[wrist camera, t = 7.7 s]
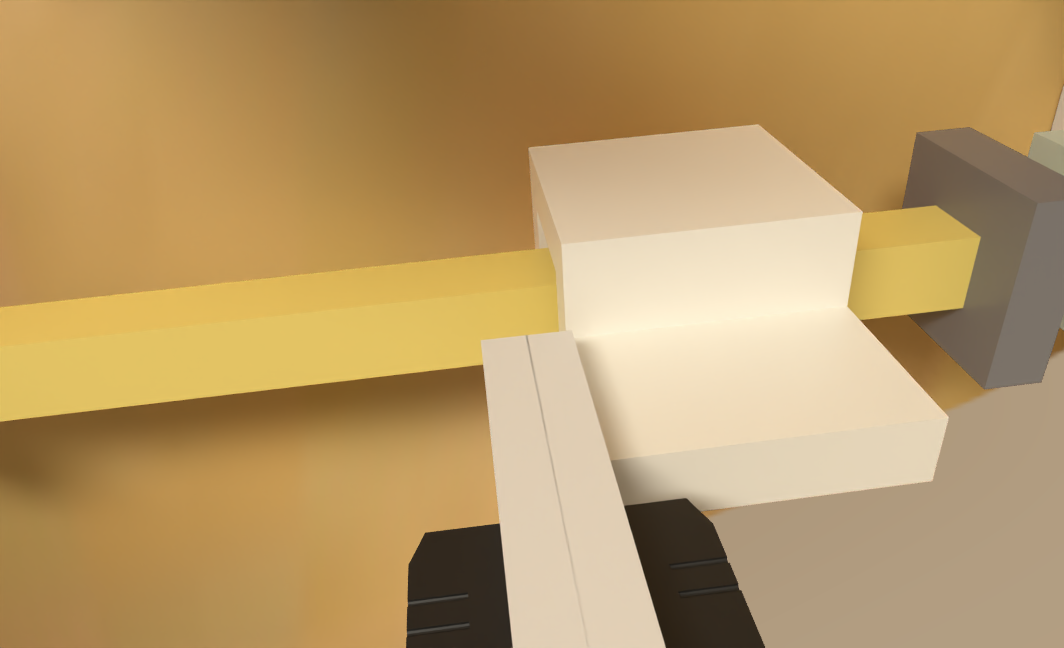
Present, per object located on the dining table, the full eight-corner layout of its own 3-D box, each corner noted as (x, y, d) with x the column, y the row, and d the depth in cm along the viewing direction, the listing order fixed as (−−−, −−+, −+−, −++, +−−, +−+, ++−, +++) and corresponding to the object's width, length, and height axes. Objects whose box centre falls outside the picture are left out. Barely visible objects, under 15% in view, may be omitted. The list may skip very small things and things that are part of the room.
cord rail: (-177, 353, 20) (-428, 566, 14) (-269, 206, 18) (-610, 383, 12) (1093, 212, 22) (1336, 345, 16) (1141, 66, 20) (1438, 159, 14)
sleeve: (541, 338, 19) (604, 607, 13) (528, 147, 17) (598, 352, 10) (741, 315, 20) (910, 564, 13) (758, 124, 17) (978, 307, 10)
